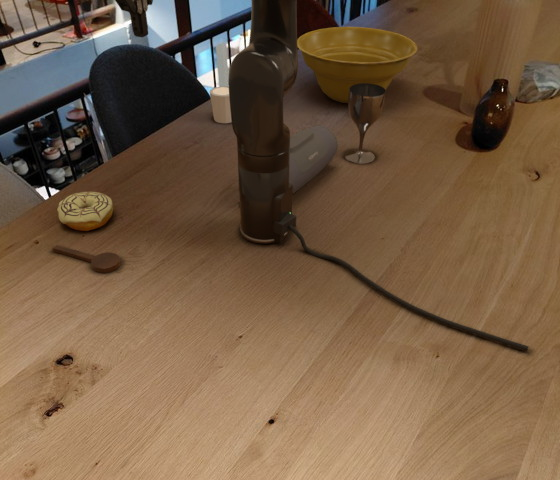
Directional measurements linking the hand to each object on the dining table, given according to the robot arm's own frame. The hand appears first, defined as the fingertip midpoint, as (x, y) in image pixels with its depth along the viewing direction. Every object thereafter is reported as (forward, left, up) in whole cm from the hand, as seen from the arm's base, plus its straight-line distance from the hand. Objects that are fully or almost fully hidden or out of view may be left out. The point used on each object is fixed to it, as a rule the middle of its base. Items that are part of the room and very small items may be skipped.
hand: (141, 35), depth 103 cm
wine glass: (-35, -31, -29) cm, 55 cm away
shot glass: (+4, -37, -29) cm, 47 cm away
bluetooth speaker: (-26, -13, -19) cm, 35 cm away
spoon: (-2, +30, -29) cm, 42 cm away
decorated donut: (+6, +18, -29) cm, 35 cm away
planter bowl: (-21, -67, -29) cm, 76 cm away
